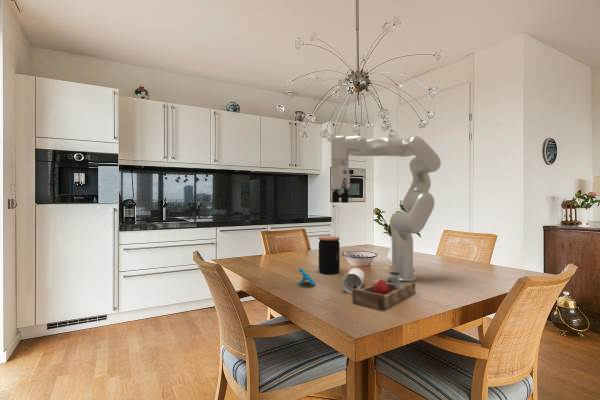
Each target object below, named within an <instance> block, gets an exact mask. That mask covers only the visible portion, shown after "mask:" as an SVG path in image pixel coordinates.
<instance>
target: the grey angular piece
mask: <svg viewBox="0 0 600 400" xmlns="http://www.w3.org/2000/svg"><path fill="white" fill-rule="evenodd" d="M390 274H391V283H386V282H385V283H386V284H387V285H388V287H389V292H391V291H394V290H396V289H398V288H400V287H402V286H404V285H406V283H402V282H400V281H399V275H400V273H399V272H392V271H390V272H389V275H390Z"/></svg>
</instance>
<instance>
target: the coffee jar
mask: <svg viewBox="0 0 600 400" xmlns="http://www.w3.org/2000/svg"><path fill="white" fill-rule="evenodd" d="M318 240H319V241H318V272H319V273H320V274H323V275H336V274H339V272H340V270H341V269H340V267H341V265H340V262H341V261H340V250H341V249H340V244H341V243H340V237H339V236H335V235H334V236H332V235H330V236H329V235H327V236H326V235H324V236H323V235H322V236H319V237H318Z"/></svg>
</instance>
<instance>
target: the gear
mask: <svg viewBox="0 0 600 400" xmlns="http://www.w3.org/2000/svg"><path fill="white" fill-rule="evenodd" d="M298 272H300V273H301V275H302V276H303V277H302V279H301V280H300V281H299V282H298V283H297V284H298V286H300V285H302V284H303V283H304V282H306V281H308V282H309V284H311V285H312V286H316V282H315V280H313V279H312V277H310V274H308V273H306V271H305V270H304V269H303V268H301V267H299V268H298Z"/></svg>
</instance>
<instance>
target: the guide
mask: <svg viewBox="0 0 600 400" xmlns="http://www.w3.org/2000/svg"><path fill="white" fill-rule="evenodd" d="M383 281H384V282H386V283H391V279H390V278H389V277H387V278H385V279H383ZM376 283H377V282H375V283H373V284H370V285H368V286H365V287H363V288H362V287H361V289H360V290H359V289H356V288H353V290H352V291H353V293H352V304H354V305H358V306H362V307H365V308H369V309H375V310H379V311H382V312H383V311H384V310H386V309H388V308H390V307H392V306H394V305H395V304H397V303H399V302H401V301H403V300H404V299H406V298H408V297H410V296H412V295H414V294H416V282H414V281H410V282H409V283H407V284H406V283H405V285H404V286H402V287H400V288H398V289H396V290H394V291H391V292H389V293H387V294H385V295H384V294H379V293H374V291H373V288H374V285H375V284H376Z"/></svg>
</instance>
